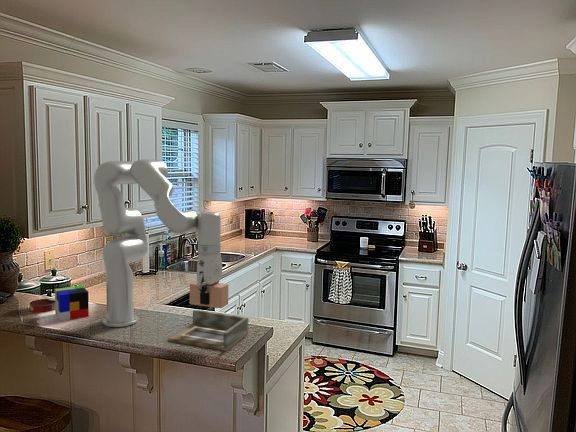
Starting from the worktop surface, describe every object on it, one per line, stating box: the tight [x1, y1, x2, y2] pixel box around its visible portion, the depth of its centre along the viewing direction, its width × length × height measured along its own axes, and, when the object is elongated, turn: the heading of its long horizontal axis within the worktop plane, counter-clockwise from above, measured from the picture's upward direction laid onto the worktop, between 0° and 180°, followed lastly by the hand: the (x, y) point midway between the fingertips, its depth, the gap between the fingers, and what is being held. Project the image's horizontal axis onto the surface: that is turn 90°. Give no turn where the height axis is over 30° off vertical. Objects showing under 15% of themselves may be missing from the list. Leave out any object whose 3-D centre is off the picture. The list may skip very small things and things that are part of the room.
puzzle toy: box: [54, 285, 90, 322], centre depth 184 cm, size 10×10×10 cm
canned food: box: [29, 289, 55, 314], centre depth 191 cm, size 11×10×10 cm
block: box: [189, 280, 229, 309], centre depth 161 cm, size 12×5×7 cm, turn 71°
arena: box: [167, 309, 250, 352], centre depth 165 cm, size 22×17×6 cm
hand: (208, 301), depth 161 cm, fingers closed on block, 5 cm apart
